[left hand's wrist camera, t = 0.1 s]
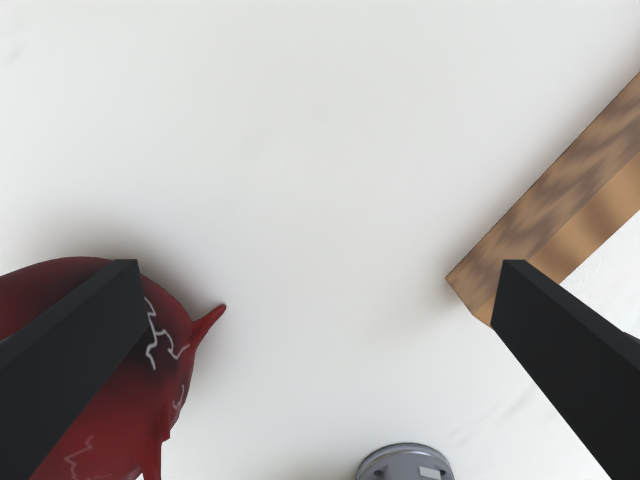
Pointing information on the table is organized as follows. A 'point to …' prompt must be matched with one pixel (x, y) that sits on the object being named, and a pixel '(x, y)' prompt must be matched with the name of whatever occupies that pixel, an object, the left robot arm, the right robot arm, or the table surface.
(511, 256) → the post
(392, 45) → the table surface
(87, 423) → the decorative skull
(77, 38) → the table surface
